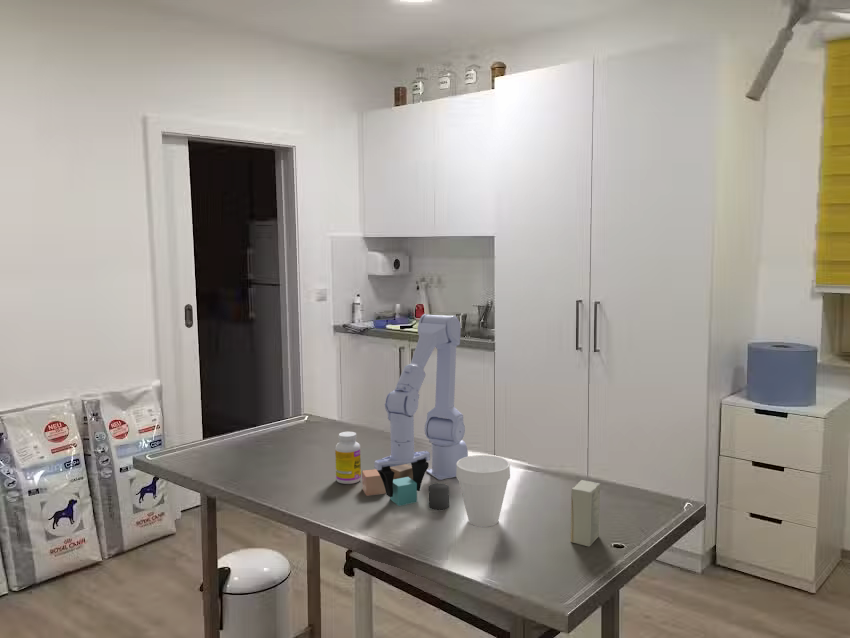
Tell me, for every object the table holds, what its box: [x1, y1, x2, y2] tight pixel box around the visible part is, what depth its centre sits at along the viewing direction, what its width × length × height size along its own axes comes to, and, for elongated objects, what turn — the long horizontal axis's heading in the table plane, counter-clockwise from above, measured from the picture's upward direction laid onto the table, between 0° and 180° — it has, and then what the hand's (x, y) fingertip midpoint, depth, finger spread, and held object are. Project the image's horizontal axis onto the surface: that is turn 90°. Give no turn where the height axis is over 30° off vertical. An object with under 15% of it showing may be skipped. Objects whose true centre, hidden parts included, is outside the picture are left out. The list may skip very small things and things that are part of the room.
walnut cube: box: [390, 464, 413, 480], centre depth 189 cm, size 5×5×5 cm
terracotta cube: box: [361, 468, 386, 497], centre depth 185 cm, size 5×5×5 cm
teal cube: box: [389, 477, 418, 507], centre depth 179 cm, size 5×5×5 cm
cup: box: [455, 454, 511, 528], centre depth 165 cm, size 12×12×14 cm
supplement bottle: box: [334, 431, 362, 485], centre depth 193 cm, size 7×7×13 cm
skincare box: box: [570, 479, 601, 547], centre depth 154 cm, size 6×4×12 cm
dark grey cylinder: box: [427, 482, 450, 511], centre depth 175 cm, size 5×5×5 cm
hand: (403, 492), depth 179 cm, fingers open, 7 cm apart
